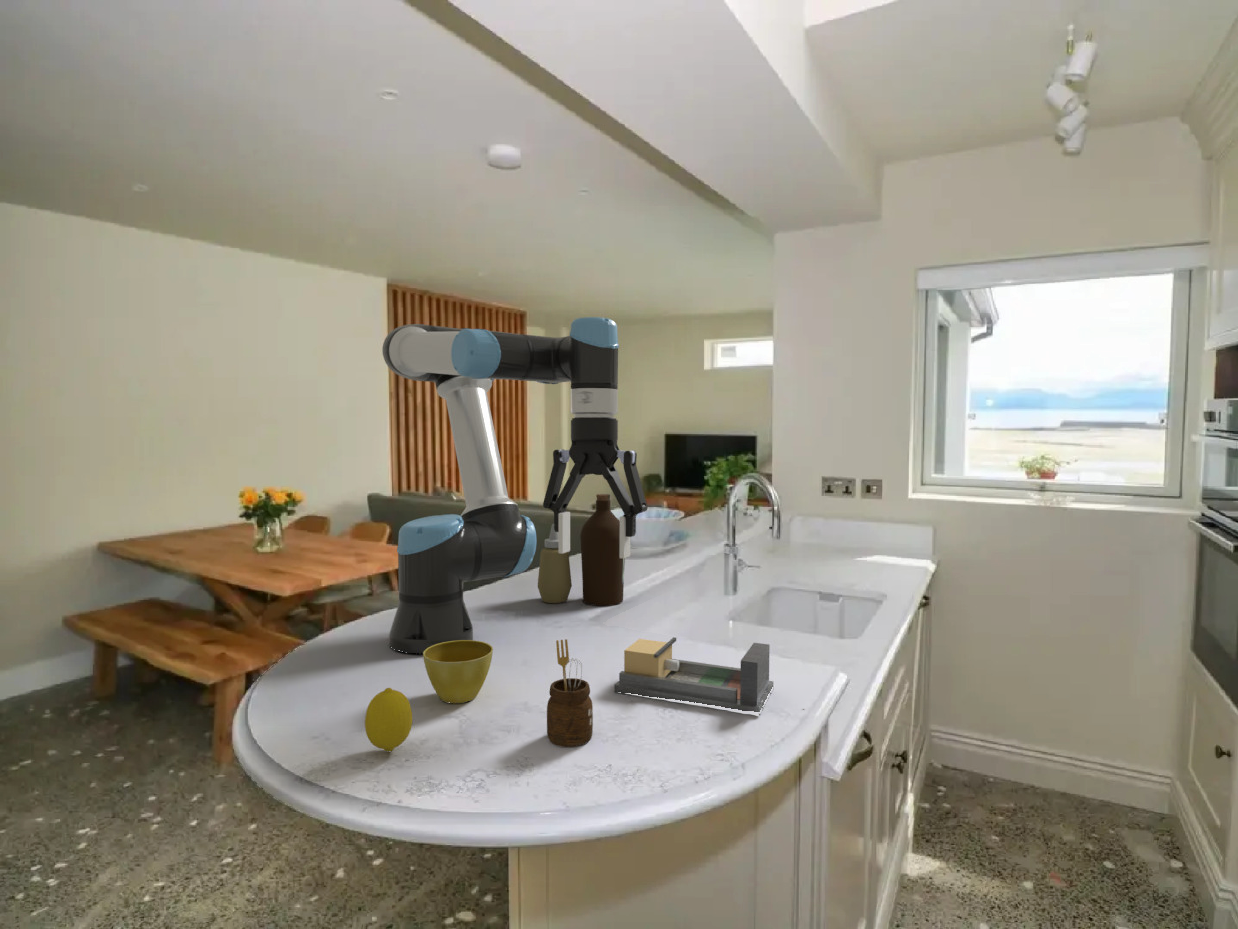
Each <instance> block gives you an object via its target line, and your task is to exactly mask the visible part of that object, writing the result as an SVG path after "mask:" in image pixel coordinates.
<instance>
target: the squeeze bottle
mask: <svg viewBox="0 0 1238 929" xmlns="http://www.w3.org/2000/svg"><path fill="white" fill-rule="evenodd" d="M569 554H570V553H569V552H566V553H563V554H561V553H559V532H555V530H554V523H552V524H551V527H550V532H549V538H545V539H544V548H542V549H541V550H540V556H539V565H538V566H539V569H538V578H537V589H538V592H539V595H540V599H541V602H544V603H548V604H560V603H565V602H567V601H568V600H569V596H570V592H571V589H572V586H573V585H572V574H571V566H570V557H569V556H570V555H569Z"/></svg>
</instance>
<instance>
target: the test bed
mask: <svg viewBox="0 0 1238 929" xmlns="http://www.w3.org/2000/svg"><path fill="white" fill-rule="evenodd" d="M770 646H771V645H770V644H769V643H760V642H753V643H752V645H751V646H750V647H749V649H748V650H747V651H746V653H745V654H744V655H743V657H742V658H741V659H740V668H739V667H732V666H727V665H718V664H712V663H703V662H697V661H689V660H684V659H676V658H672V660H678V661H679V669H678V671H671V672H670V673H669V674H668V675H667V676H666V677H658V676H652V675H645V674H638V673H632V672H625V671H624V670H622V671H620V672H619V674H618V678H619V679H618V681H617V682H616V683H615V684H613V692H621V693H631V694H638V695H642V696H649V697H657V698H658V697H659V698H665V699H675V700H680V701H681V700H682V701H689V702H694V703H695V702H696V703H702V704H707V705H715V706H721V707H725V708H731V709H738V710H742V711H754V712H760V710H761V708H762V706H763V705H764V702H765V700H766V699H767V696H768V694H769V693H770V691H771V689H772V687H773V688H774V681H772V680H770Z"/></svg>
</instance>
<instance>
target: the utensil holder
mask: <svg viewBox="0 0 1238 929" xmlns="http://www.w3.org/2000/svg"><path fill="white" fill-rule="evenodd" d="M559 642H560V643H559ZM555 644H556V656H557V658H556V659H557V665H559V666H561V667H562V677H563V678H560V679H557V680H554V681H553V682H552V683H551V684H550V687H549V693H548V694H549V696H550V697H549V698H548V701H547V705H546V734H547V739H548V741H549V742H550V743H551V744H553V745H555V746H557V747H562V748H576V747H580V746H583V745H585V744H587V743H588V742H590V740H592V736H593V725H594V718H593V717H594V715H593V714H594V713H593V712H594V709H593V707H594V706H593V701H592V698H591V697H590V693H591V688H590V684H589V682H588V681H586V680H584V679H582V678H583V677H582V673H583V667H582V666H583V664H582V663H581V662H580V660H579V659H577V658H571V659H570V655H569V654H570V652H569V645H568V644H569V643H568V639H567V638H566V639H564V640H563V639H560V641H559V640H555ZM564 646H565V649H564ZM560 649H561V650H560ZM560 652H561V653H560ZM560 654H561V655H560ZM572 662H575V664H574V665H580V669H581V672H580V675H581V676H580V678H576V677H577V675H578V666H575V667H576V668H575V669H576V672H575V674H576V675H575V677H574V678H573V677H571V671H569V672H568V673H569V674H568V677H567V673H566V669H567V668H566V667H567V665H569V663H570V665H569V669H571V667H572V664H573V663H572ZM576 662H577V663H576Z"/></svg>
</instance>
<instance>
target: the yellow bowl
mask: <svg viewBox="0 0 1238 929" xmlns="http://www.w3.org/2000/svg"><path fill="white" fill-rule="evenodd" d="M493 650H494V647H493V646H492V645H491V644H490V643H488V642H485V641H480V640H474V639H473V640H457V641H449V642H443V643H439V644H435V645H433V646H431V647H429V648H427V649H426V650H425V651H424V652H423V654H422V657H423V663H424V667H425V670H426V673H427V676H428V680H429V681H430V683H431V685H432V687H433V690H434V691H435V693H436V694H437V697H439V699H440V700H441V699H442V700H443V701H445V702H450V703H462V704H464V703H463V702H467V701H470V700H472V699H473V700H475V699H476V698H477V696H478V694H479V693H480V691H481V689H482V688H483V685H484V684H485V682H486V679H487V677H488V674H489V670H490V667H491V664H492V659H493V652H494V651H493ZM442 700H441V701H442ZM473 700H472V701H473ZM443 701H442V702H443ZM445 702H444V703H445ZM470 702H471V701H470ZM467 703H468V702H467Z"/></svg>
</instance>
